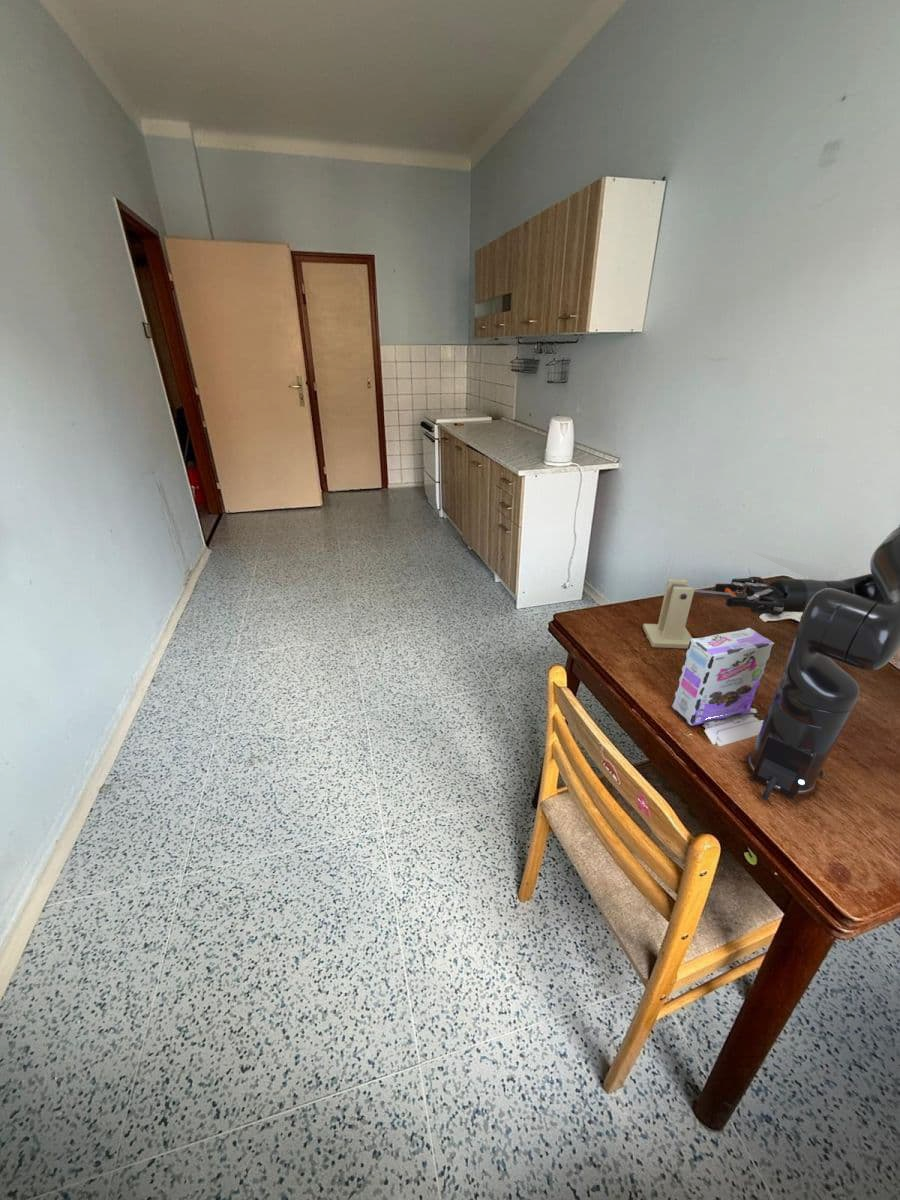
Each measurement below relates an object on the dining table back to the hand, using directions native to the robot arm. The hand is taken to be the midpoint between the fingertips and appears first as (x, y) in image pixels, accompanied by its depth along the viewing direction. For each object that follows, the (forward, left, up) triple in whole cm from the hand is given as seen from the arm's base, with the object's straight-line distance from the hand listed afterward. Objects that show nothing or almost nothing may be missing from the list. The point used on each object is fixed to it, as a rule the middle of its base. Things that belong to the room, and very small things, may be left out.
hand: (721, 594), depth 109 cm
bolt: (+28, -4, -13) cm, 31 cm away
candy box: (-26, -10, -13) cm, 31 cm away
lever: (-2, +3, -1) cm, 4 cm away
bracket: (-6, +7, -12) cm, 16 cm away
